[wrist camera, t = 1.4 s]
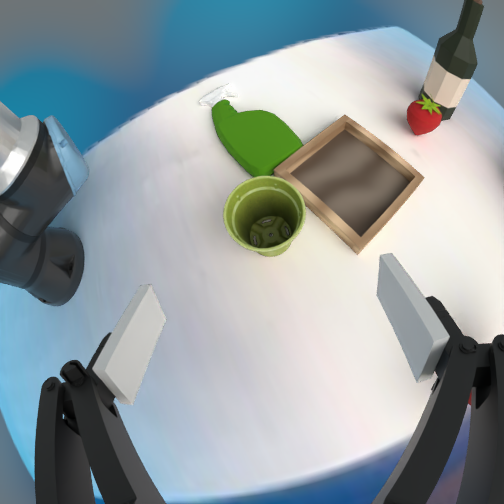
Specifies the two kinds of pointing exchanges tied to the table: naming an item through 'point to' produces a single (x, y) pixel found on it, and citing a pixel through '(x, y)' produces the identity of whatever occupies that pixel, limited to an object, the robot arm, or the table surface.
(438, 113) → the strawberry
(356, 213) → the square wooden tray
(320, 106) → the table surface
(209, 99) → the spray bottle
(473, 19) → the wine bottle
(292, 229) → the plant pot
